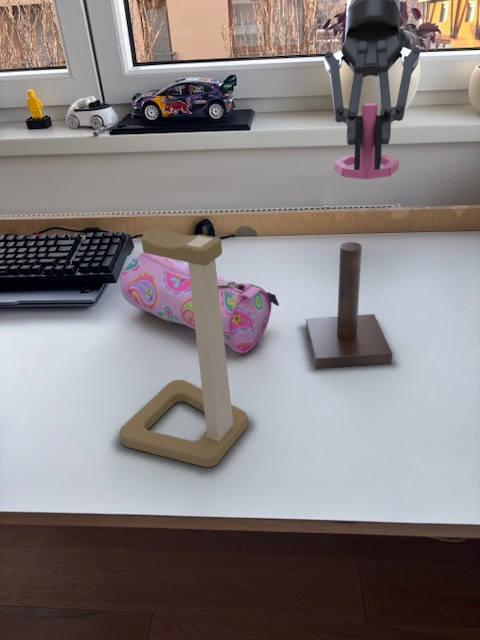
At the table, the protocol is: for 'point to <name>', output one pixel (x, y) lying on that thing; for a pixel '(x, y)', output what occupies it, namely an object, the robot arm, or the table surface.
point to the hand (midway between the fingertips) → (367, 164)
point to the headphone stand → (215, 393)
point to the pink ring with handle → (367, 151)
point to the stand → (348, 323)
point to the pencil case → (176, 299)
